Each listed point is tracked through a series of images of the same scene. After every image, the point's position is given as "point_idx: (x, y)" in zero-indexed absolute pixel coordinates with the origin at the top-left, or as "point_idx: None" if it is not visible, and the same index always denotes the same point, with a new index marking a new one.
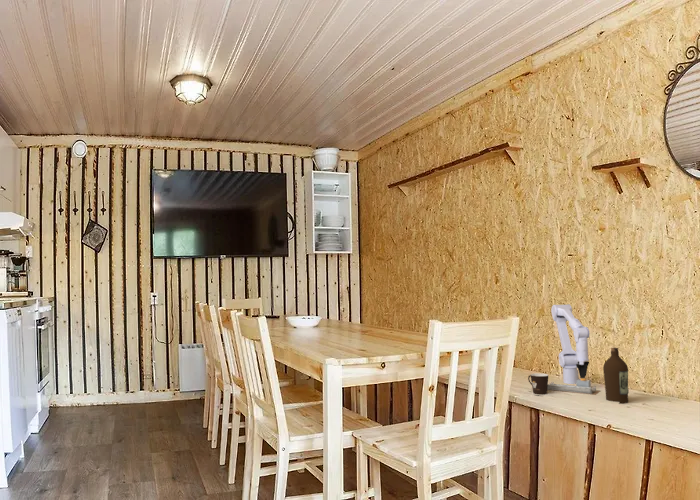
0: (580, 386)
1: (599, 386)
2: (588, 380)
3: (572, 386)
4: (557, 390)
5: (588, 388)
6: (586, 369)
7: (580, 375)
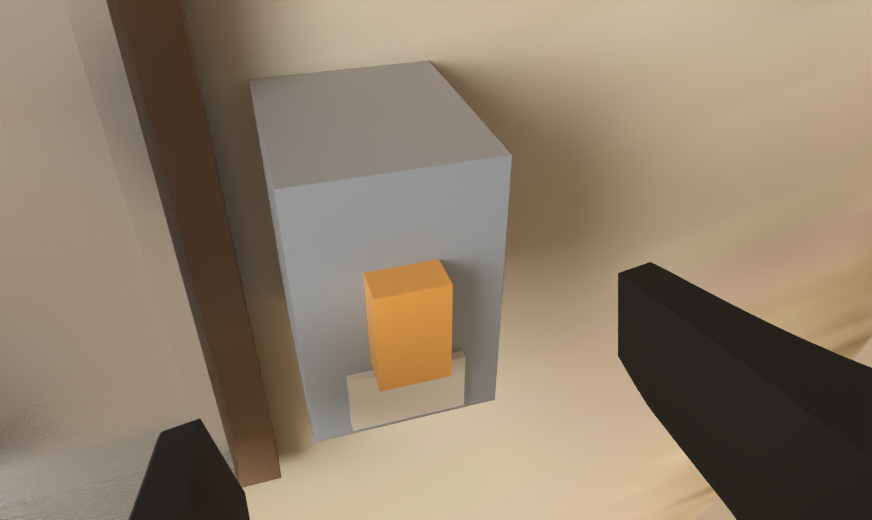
0: (145, 265)
1: (744, 257)
2: (386, 421)
3: (83, 61)
4: None
5: (180, 385)
6: (737, 512)
7: (147, 506)
